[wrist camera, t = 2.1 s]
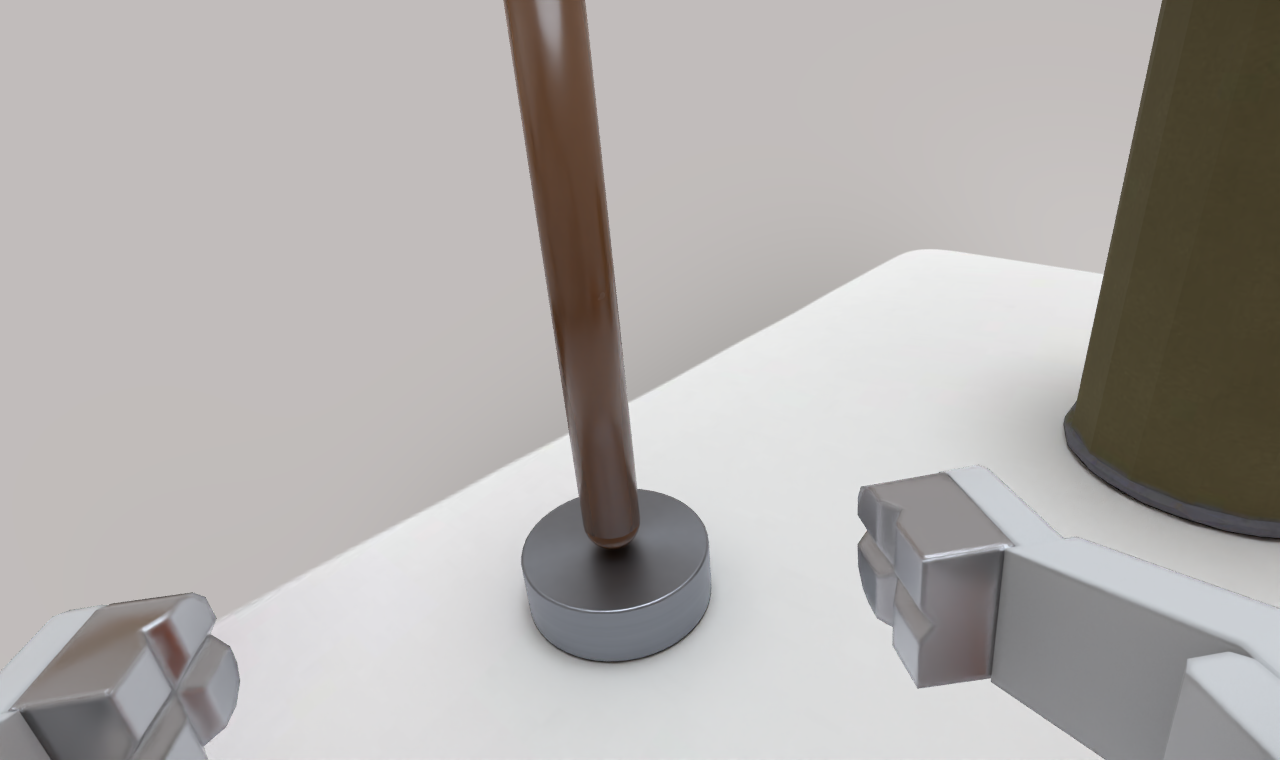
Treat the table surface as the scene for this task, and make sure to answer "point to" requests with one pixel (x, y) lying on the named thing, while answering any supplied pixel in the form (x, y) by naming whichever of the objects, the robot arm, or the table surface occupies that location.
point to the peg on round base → (593, 381)
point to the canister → (1195, 280)
